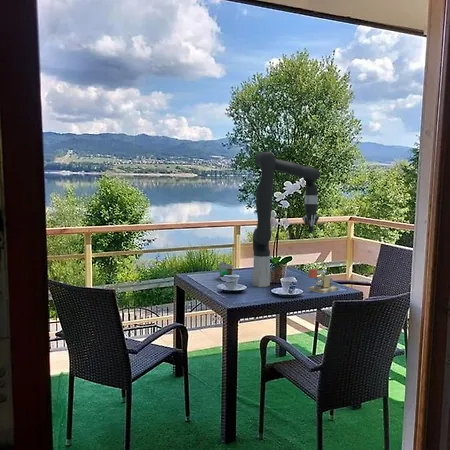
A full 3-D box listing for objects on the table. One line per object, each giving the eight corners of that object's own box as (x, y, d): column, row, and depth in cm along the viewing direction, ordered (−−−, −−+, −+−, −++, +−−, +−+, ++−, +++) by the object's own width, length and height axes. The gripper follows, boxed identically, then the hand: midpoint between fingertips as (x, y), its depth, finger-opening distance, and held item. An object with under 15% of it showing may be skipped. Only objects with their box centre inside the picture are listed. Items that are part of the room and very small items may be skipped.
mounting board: (323, 293, 253) (323, 290, 253) (308, 290, 261) (308, 287, 260) (338, 289, 261) (338, 287, 261) (323, 286, 269) (323, 283, 269)
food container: (215, 278, 290) (215, 262, 289) (225, 277, 292) (225, 261, 291) (222, 282, 278) (222, 265, 277) (232, 281, 280) (232, 265, 279)
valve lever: (323, 275, 262) (323, 266, 262) (327, 276, 260) (327, 267, 259) (308, 277, 255) (308, 269, 255) (312, 278, 253) (312, 270, 252)
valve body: (319, 289, 255) (319, 278, 255) (313, 288, 259) (313, 277, 258) (333, 286, 263) (333, 275, 262) (327, 284, 266) (327, 274, 266)
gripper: (308, 203, 271) (308, 234, 273) (323, 202, 280) (322, 232, 281) (298, 203, 277) (298, 232, 279) (313, 202, 285) (312, 231, 287)
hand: (310, 232), depth 280 cm, fingers closed
